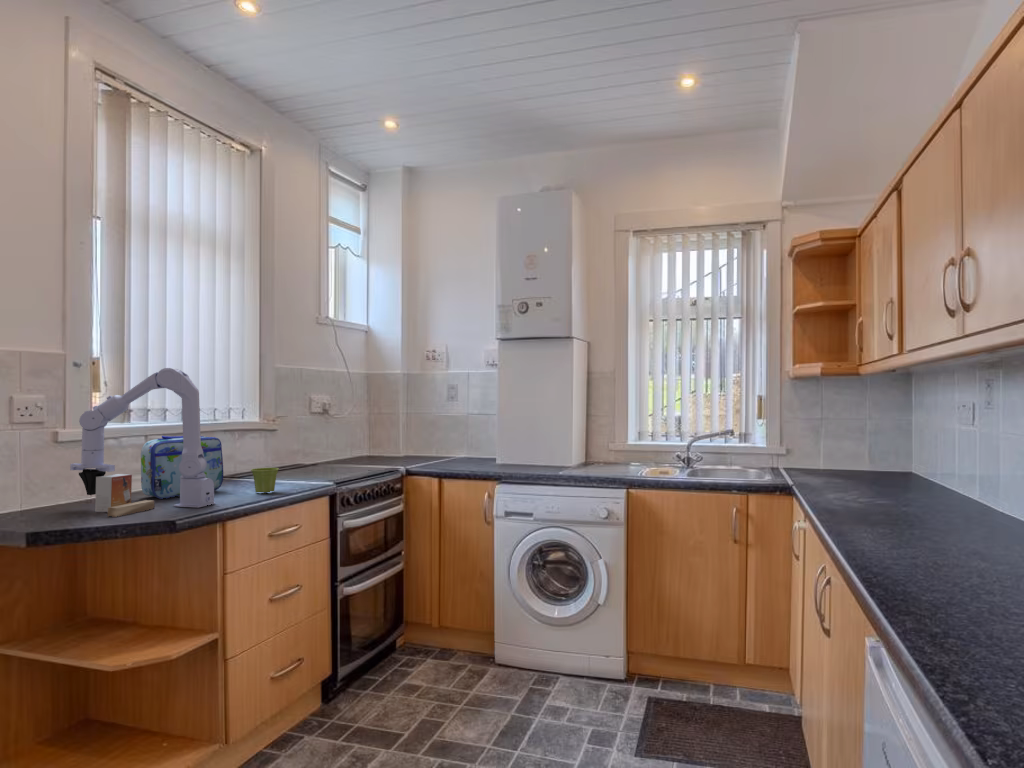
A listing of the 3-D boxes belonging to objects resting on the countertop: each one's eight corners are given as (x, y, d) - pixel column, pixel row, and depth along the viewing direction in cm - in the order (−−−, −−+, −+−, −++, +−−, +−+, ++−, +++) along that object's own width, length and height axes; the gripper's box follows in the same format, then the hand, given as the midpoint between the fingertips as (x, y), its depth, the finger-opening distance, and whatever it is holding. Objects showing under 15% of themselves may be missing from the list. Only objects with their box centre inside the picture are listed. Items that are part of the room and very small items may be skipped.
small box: (110, 512, 187) (111, 477, 187) (94, 512, 188) (95, 476, 189) (131, 508, 195) (132, 474, 195) (116, 507, 196) (117, 473, 196)
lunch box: (152, 501, 209) (153, 437, 209) (136, 498, 215) (137, 436, 215) (226, 491, 230) (227, 434, 231) (209, 489, 236) (210, 433, 237)
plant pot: (244, 494, 225) (245, 469, 225) (264, 490, 234) (264, 467, 234) (265, 495, 221) (265, 470, 222) (284, 492, 230) (284, 468, 230)
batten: (154, 508, 194) (154, 500, 194) (116, 516, 181) (116, 508, 181) (146, 508, 195) (146, 500, 195) (107, 516, 181) (107, 507, 181)
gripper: (61, 450, 192) (60, 495, 191) (101, 451, 188) (100, 497, 188) (82, 448, 199) (81, 492, 198) (120, 449, 195) (119, 494, 195)
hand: (91, 494), depth 194 cm, fingers closed
